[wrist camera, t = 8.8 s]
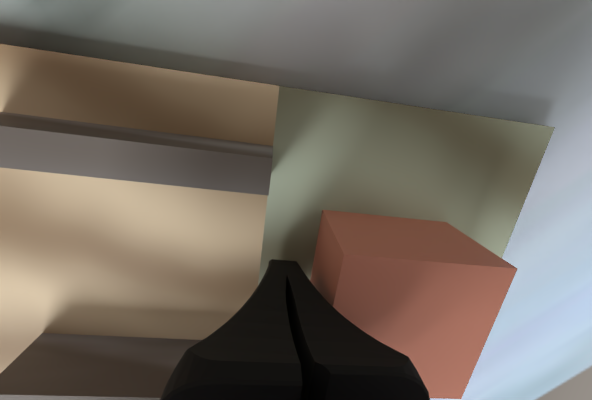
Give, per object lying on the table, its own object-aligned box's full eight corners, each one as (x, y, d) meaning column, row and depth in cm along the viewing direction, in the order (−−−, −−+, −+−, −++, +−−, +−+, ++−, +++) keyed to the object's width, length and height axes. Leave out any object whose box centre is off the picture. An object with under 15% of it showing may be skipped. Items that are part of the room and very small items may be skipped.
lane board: (436, 380, 18) (480, 454, 14) (-102, 364, 14) (-236, 456, 11) (534, 125, 13) (641, 133, 9) (-242, 9, 10) (-582, -56, 6)
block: (413, 324, 15) (461, 398, 11) (303, 318, 14) (314, 395, 10) (446, 222, 13) (517, 268, 9) (322, 209, 12) (343, 254, 9)
